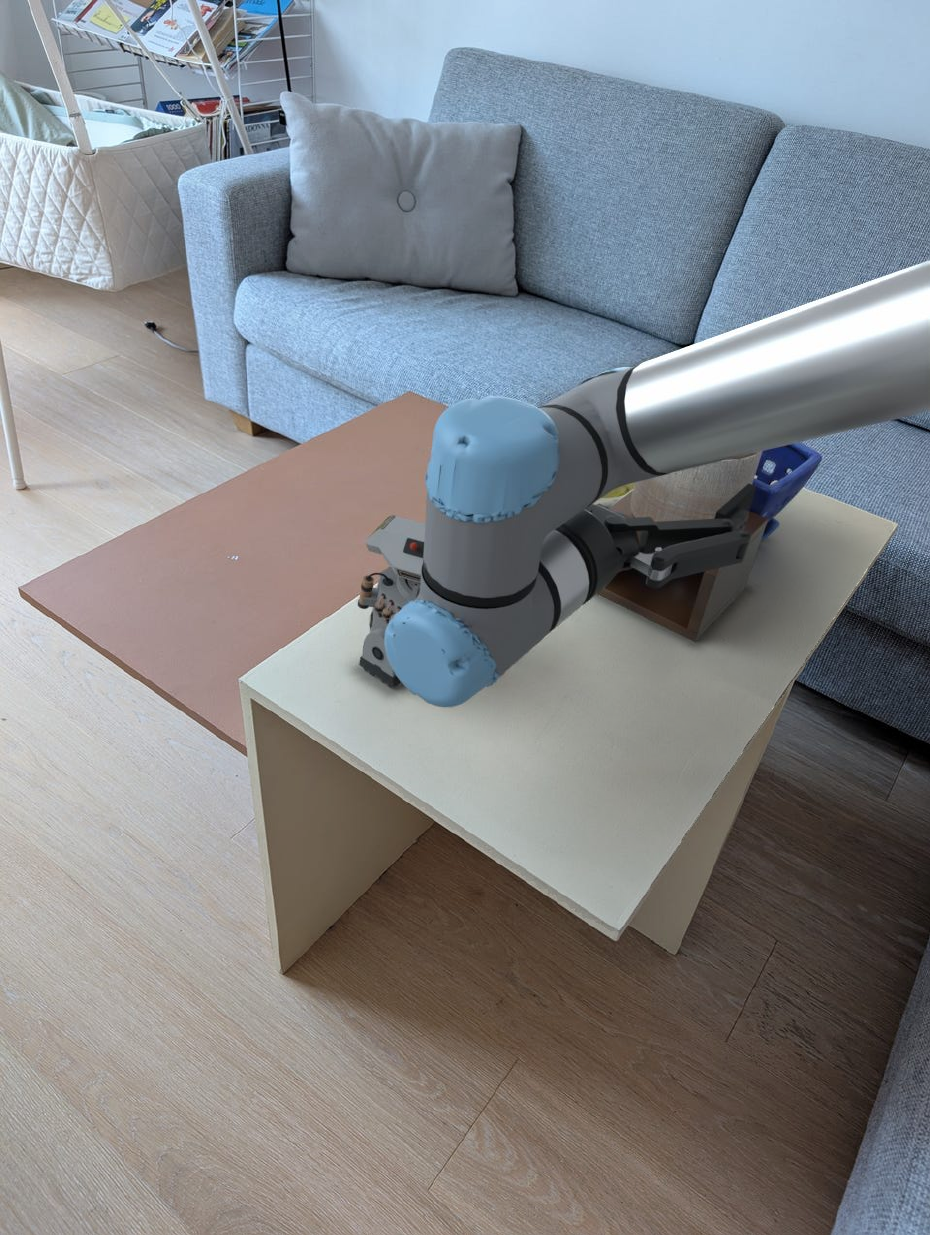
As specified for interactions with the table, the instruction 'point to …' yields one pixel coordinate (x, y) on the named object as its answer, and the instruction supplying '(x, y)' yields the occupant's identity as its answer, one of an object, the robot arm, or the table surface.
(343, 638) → the table surface
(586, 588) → the robot arm
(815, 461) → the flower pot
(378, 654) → the figurine
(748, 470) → the planter
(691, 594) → the shelf
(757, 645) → the table surface
